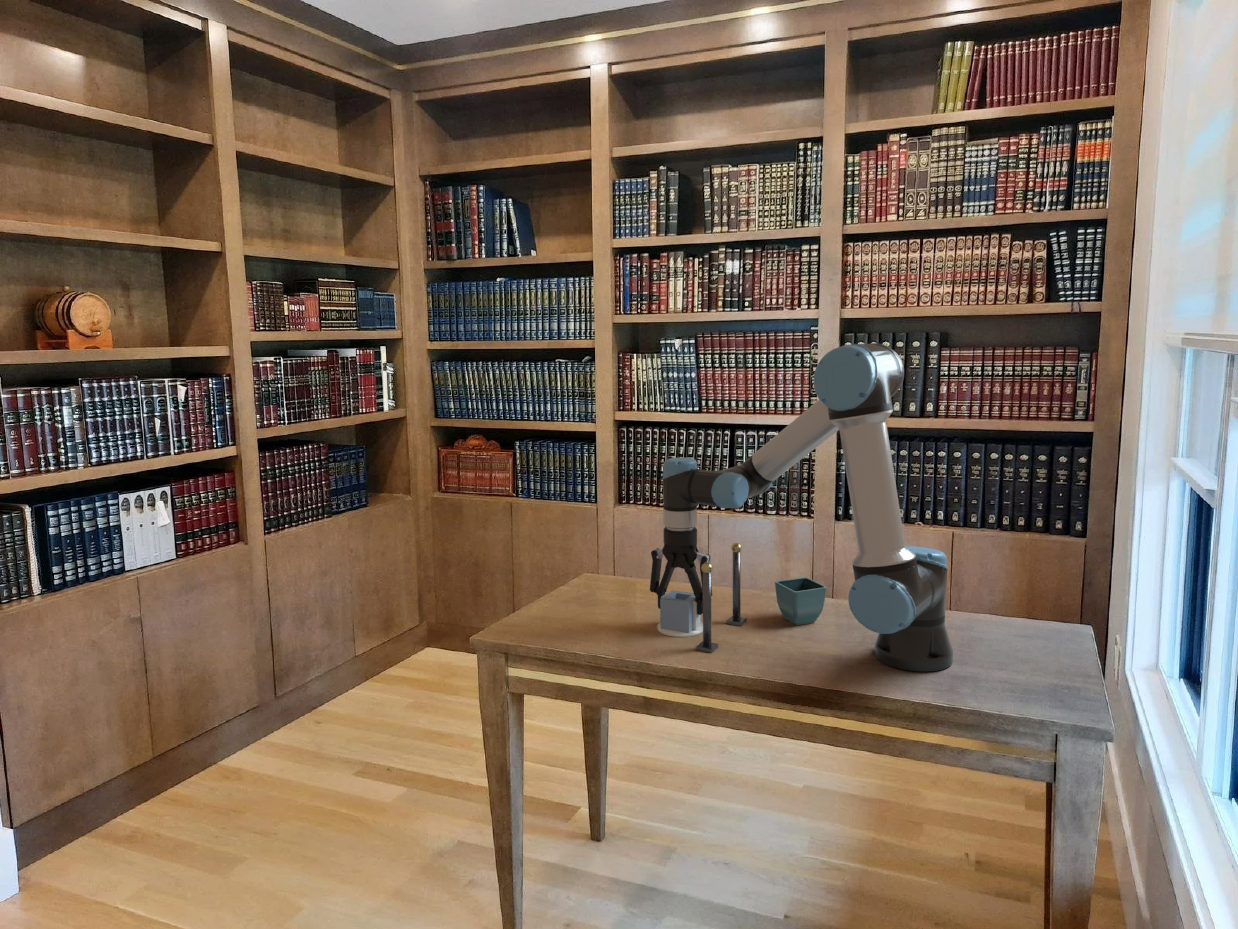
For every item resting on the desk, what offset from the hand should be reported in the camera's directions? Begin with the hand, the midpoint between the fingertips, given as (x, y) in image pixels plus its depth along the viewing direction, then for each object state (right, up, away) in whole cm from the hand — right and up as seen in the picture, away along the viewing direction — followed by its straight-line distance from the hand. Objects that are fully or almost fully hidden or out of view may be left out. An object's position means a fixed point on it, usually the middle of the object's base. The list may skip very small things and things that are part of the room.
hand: (680, 624), depth 194 cm
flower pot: (+28, 0, +3) cm, 28 cm away
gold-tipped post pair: (+9, -1, -5) cm, 10 cm away
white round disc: (0, -1, 0) cm, 1 cm away
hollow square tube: (0, 0, 0) cm, 0 cm away
